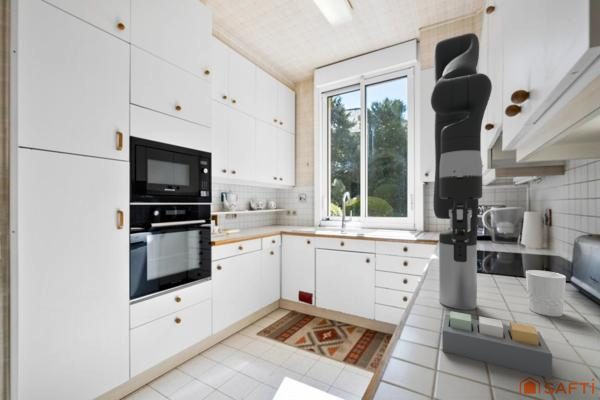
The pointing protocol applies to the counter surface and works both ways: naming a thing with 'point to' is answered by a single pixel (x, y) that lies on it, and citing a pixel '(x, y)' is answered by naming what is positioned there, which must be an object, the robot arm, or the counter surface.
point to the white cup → (545, 292)
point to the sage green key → (460, 321)
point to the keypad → (498, 349)
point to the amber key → (524, 333)
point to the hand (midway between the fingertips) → (460, 258)
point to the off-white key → (491, 327)
